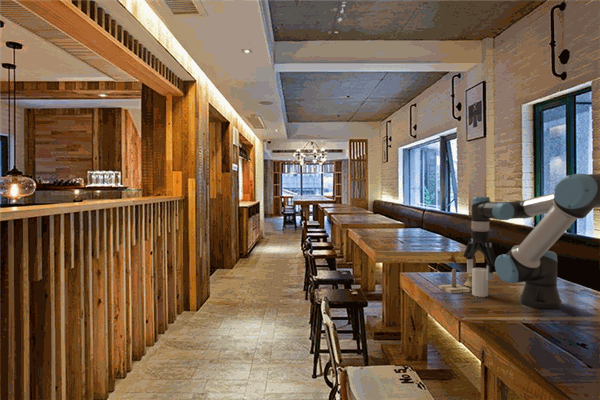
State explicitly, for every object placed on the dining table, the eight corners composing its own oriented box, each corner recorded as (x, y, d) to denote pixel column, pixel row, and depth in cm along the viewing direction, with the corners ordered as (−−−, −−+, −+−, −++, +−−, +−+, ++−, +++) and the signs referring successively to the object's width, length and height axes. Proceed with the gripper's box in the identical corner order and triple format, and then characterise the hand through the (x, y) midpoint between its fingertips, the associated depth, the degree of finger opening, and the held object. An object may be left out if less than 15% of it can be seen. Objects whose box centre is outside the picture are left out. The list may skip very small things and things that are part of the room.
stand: (469, 291, 194) (469, 269, 194) (451, 293, 192) (451, 271, 191) (456, 286, 204) (456, 265, 203) (438, 288, 201) (438, 267, 201)
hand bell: (478, 283, 210) (478, 252, 209) (483, 288, 201) (484, 255, 201) (461, 283, 210) (461, 252, 210) (466, 287, 202) (466, 255, 202)
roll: (491, 296, 186) (491, 270, 186) (478, 297, 184) (478, 271, 184) (481, 292, 192) (481, 267, 192) (469, 293, 191) (469, 268, 190)
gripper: (507, 233, 176) (506, 282, 177) (469, 226, 200) (469, 269, 202) (492, 234, 174) (491, 283, 176) (456, 227, 199) (455, 270, 200)
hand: (479, 276), depth 189 cm, fingers open, 13 cm apart
